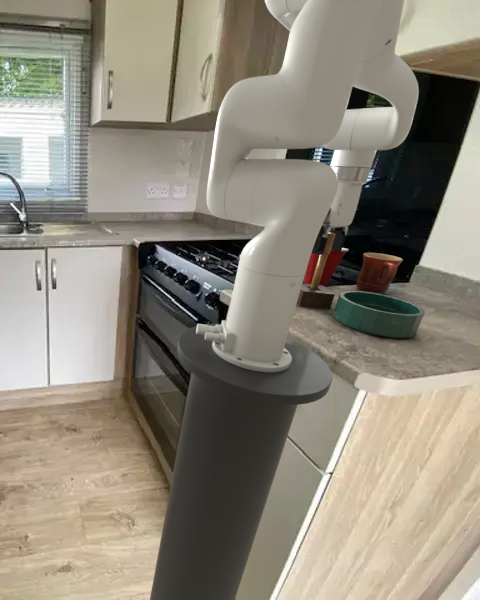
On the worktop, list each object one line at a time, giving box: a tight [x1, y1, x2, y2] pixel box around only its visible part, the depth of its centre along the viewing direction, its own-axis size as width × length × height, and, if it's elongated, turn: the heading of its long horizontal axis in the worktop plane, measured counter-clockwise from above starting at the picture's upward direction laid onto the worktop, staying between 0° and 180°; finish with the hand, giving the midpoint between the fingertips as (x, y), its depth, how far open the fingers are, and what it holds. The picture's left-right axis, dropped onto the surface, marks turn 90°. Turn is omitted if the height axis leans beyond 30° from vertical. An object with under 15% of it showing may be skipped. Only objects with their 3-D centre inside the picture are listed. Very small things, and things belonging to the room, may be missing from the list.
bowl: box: [333, 290, 426, 339], centre depth 78 cm, size 15×15×6 cm
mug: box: [356, 252, 404, 295], centre depth 99 cm, size 12×9×10 cm
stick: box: [310, 231, 336, 290], centre depth 88 cm, size 2×2×18 cm
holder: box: [296, 283, 336, 310], centre depth 90 cm, size 7×7×4 cm
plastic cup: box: [303, 247, 349, 288], centre depth 105 cm, size 11×11×12 cm
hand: (324, 251), depth 86 cm, fingers open, 8 cm apart
